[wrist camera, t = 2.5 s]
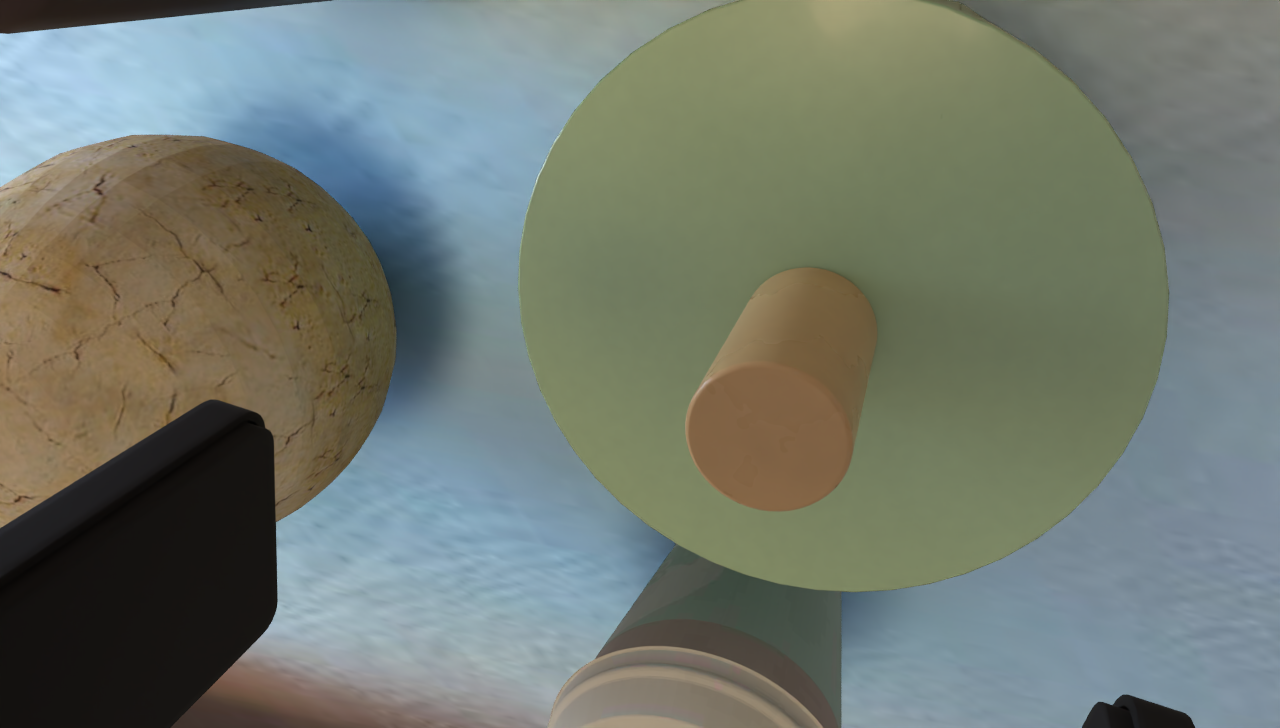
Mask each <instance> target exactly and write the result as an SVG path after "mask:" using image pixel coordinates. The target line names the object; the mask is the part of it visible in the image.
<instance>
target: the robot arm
mask: <svg viewBox="0 0 1280 728" xmlns="http://www.w3.org/2000/svg"><path fill="white" fill-rule="evenodd" d="M276 608H277V556H276V511H275V465H274V439H273V435H272V433H271V431H270V430H268V429H266V428H265V423H264V420H263V418H262V416H261V415H260V414H258V413H256V412H254V411H251V410H248V409H245V408H242V407H238V406H235V405H232V404H229V403H226V402H223V401H220V400H212V399H210V400H207V401H205V402H203V403H201V404H199V405H198V406H196V407H194V408H193V409H191V410H190V411H188V412H186V413H185V414H183V415H182V416H180V417H178V418H177V419H175V420H173V421H172V422H170V423H169V424H167V425H165V426H164V427H162V428H161V429H159V430H157V431H156V432H154V433H153V434H151V435H149V436H148V437H146V438H144V439H143V440H141V441H140V442H138V443H136V444H135V445H133V446H132V447H130V448H128V449H127V450H125V451H124V452H122V453H120V454H119V455H117V456H115V457H114V458H112V459H111V460H109V461H107V462H106V463H104V464H103V465H101V466H99V467H98V468H96V469H95V470H93V471H91V472H90V473H88V474H86V475H85V476H83V477H82V478H80V479H78V480H77V481H75V482H74V483H72V484H70V485H69V486H67V487H66V488H64V489H62V490H61V491H59V492H57V493H56V494H54V495H53V496H51V497H49V498H48V499H46V500H45V501H43V502H41V503H40V504H38V505H37V506H35V507H33V508H32V509H30V510H28V511H27V512H25V513H24V514H22V515H20V516H19V517H17V518H16V519H14V520H12V521H11V522H9V523H8V524H6V525H4V526H3V527H1V528H0V728H170V727H171V726H172V725H173V724H174V723H175V722H176V721H177V720H178V719H179V718H180V717H181V716H182V715H183V714H184V713H185V712H186V711H187V710H188V709H189V708H190V707H191V706H192V705H193V704H194V703H195V702H196V701H197V700H198V699H199V698H200V697H201V696H202V695H203V694H204V693H205V692H206V691H207V690H208V689H209V688H210V687H211V686H212V685H213V684H214V683H215V682H216V681H217V680H218V679H219V678H220V677H221V676H222V675H223V674H224V673H225V672H226V671H227V670H228V669H229V668H230V667H231V666H232V665H233V664H234V663H235V662H236V661H237V660H238V659H239V658H240V657H241V656H242V655H243V654H244V653H245V652H246V651H247V650H248V649H249V648H250V647H251V645H252V644H253V643H254V642H255V641H256V640H257V639H258V638H259V637H260V636H261V635H262V634H263V633H264V632H265V631H266V630H267V628H268V627H269V625H270V623H271V622H272V620H273V617H274V615H275V612H276ZM1082 728H1195V726H1194V724H1193V722H1192V720H1191V718H1190V717H1189V716H1188V715H1187V714H1185V713H1183V712H1180V711H1177V710H1173V709H1170V708H1167V707H1164V706H1161V705H1158V704H1155V703H1152V702H1149V701H1146V700H1143V699H1140V698H1136V697H1133V696H1130V695H1122V696H1120V697H1119V698H1118V699H1117V700H1116V701H1115V703H1114V704H1113V705H1110V704H1107V703H1104V702H1098V703H1097V704H1095V705H1094V707H1093V708H1092V710H1091V711H1090V713H1089V715H1088V717H1087V719H1086V721H1085V723H1084V724H1083V726H1082Z"/></svg>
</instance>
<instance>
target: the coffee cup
mask: <svg viewBox="0 0 1280 728" xmlns="http://www.w3.org/2000/svg"><path fill="white" fill-rule="evenodd" d="M547 728H841V591H825V590H813V589H807V588H801V587H795V586H789V585H782V584H778V583H774V582H770V581H767V580H763V579H759V578H756V577H752V576H748V575H745V574H742V573H739V572H737V571H734V570H732V569H729V568H726V567H724V566H721V565H719V564H716V563H713V562H711V561H709V560H707V559H705V558H703V557H701V556H699V555H697V554H695V553H693V552H691V551H689V550H687V549H685V548H683V547H681V546H679V545H678V544H676V545H675V546H674V548H673V549H672V550H671V552H670V553H669V555H668V556H667V558H666V559H665V560H664V562H663V563H662V565H661V566H660V567H659V569H658V570H657V572H656V573H655V575H654V576H653V577H652V579H651V580H650V582H649V583H648V584H647V586H646V587H645V589H644V590H643V592H642V593H641V594H640V596H639V597H638V599H637V600H636V601H635V603H634V604H633V606H632V607H631V609H630V610H629V611H628V613H627V614H626V616H625V617H624V618H623V620H622V621H621V623H620V624H619V625H618V627H617V628H616V630H615V631H614V633H613V634H612V635H611V637H610V638H609V640H608V641H607V642H606V644H605V645H604V647H603V648H602V650H601V651H600V652H599V654H598V655H597V657H596V658H595V660H593V661H591V662H589V663H588V664H586V665H585V666H583V667H582V668H580V669H579V670H578V671H577V672H576V673H574V674H573V675H572V676H571V677H570V678H569V679H568V681H567V682H566V683H565V684H564V686H563V687H562V689H561V690H560V692H559V694H558V696H557V698H556V700H555V702H554V705H553V708H552V712H551V717H550V721H549V723H548V727H547Z"/></svg>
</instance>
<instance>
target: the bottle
mask: <svg viewBox="0 0 1280 728" xmlns="http://www.w3.org/2000/svg"><path fill="white" fill-rule="evenodd" d="M321 1H331V0H0V33H5V34H10V33H20V32H29V31H39V30H49V29H59V28H68V27H78V26H88V25H97V24H107V23H117V22H127V21H136V20H146V19H156V18H165V17H175V16H185V15H195V14H204V13H214V12H224V11H234V10H243V9H253V8H263V7H272V6H282V5H292V4H302V3H311V2H321Z"/></svg>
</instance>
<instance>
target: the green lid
mask: <svg viewBox="0 0 1280 728" xmlns="http://www.w3.org/2000/svg"><path fill="white" fill-rule="evenodd" d="M518 292H519V303H520V314H521V324H522V328H523V333H524V338H525V342H526V347H527V351H528V356H529V359H530V362H531V365H532V368H533V371H534V374H535V377H536V379H537V382H538V385H539V388H540V391H541V393H542V395H543V397H544V399H545V401H546V403H547V405H548V407H549V409H550V411H551V413H552V415H553V417H554V420H555V422H556V423H557V425H558V426H559V428H560V430H561V431H562V433H563V434H564V436H565V437H566V439H567V441H568V442H569V444H570V445H571V447H572V448H573V450H574V451H575V453H576V454H577V455H578V456H579V458H580V459H581V460H582V461H583V463H584V464H585V465H586V466H587V468H588V469H589V470H590V471H591V473H592V474H593V475H594V476H595V478H596V479H597V480H598V481H599V482H600V483H601V484H602V485H603V486H604V487H605V488H606V489H607V490H608V491H609V492H610V493H611V494H612V495H613V496H614V497H615V498H616V499H617V500H618V501H619V502H620V503H621V504H622V505H624V506H625V507H626V508H627V509H629V510H630V511H631V512H632V513H634V514H635V515H636V516H637V517H639V518H640V519H641V520H642V521H643V522H645V523H646V524H647V525H648V526H650V527H651V528H653V529H655V530H656V531H658V532H659V533H661V534H662V535H664V536H665V537H667V538H668V539H670V540H672V541H673V542H675V543H676V544H678V545H679V546H681V547H683V548H685V549H687V550H689V551H691V552H693V553H695V554H697V555H699V556H701V557H703V558H705V559H707V560H709V561H711V562H713V563H716V564H719V565H721V566H724V567H726V568H729V569H732V570H734V571H737V572H739V573H742V574H745V575H748V576H752V577H756V578H759V579H763V580H767V581H770V582H774V583H778V584H782V585H789V586H795V587H801V588H807V589H813V590H825V591H843V592H865V591H884V590H895V589H901V588H907V587H914V586H920V585H926V584H931V583H934V582H938V581H941V580H945V579H948V578H952V577H955V576H959V575H963V574H966V573H969V572H971V571H973V570H976V569H978V568H981V567H983V566H985V565H988V564H990V563H993V562H995V561H997V560H1000V559H1002V558H1004V557H1006V556H1008V555H1009V554H1011V553H1013V552H1015V551H1016V550H1018V549H1020V548H1022V547H1023V546H1025V545H1027V544H1029V543H1030V542H1032V541H1034V540H1036V539H1037V538H1039V537H1040V536H1041V535H1043V534H1044V533H1045V532H1047V531H1048V530H1049V529H1051V528H1052V527H1053V526H1055V525H1056V524H1057V523H1059V522H1060V521H1061V520H1063V519H1064V518H1065V517H1067V516H1068V515H1069V514H1070V513H1071V512H1072V511H1073V510H1074V509H1075V508H1076V507H1077V506H1078V505H1079V504H1080V503H1081V502H1082V501H1083V500H1084V499H1085V498H1086V497H1087V496H1088V495H1089V494H1090V493H1091V492H1092V491H1093V490H1095V489H1096V488H1097V486H1098V485H1099V484H1100V483H1101V481H1102V480H1103V479H1104V477H1105V476H1106V475H1107V474H1108V472H1109V471H1110V470H1111V468H1112V467H1113V466H1114V464H1115V463H1116V462H1117V461H1118V459H1119V458H1120V457H1121V455H1122V454H1123V452H1124V451H1125V449H1126V447H1127V445H1128V443H1129V442H1130V440H1131V438H1132V436H1133V434H1134V433H1135V431H1136V429H1137V427H1138V426H1139V424H1140V422H1141V420H1142V418H1143V416H1144V414H1145V411H1146V408H1147V406H1148V403H1149V400H1150V398H1151V395H1152V392H1153V390H1154V387H1155V385H1156V382H1157V379H1158V375H1159V371H1160V366H1161V361H1162V357H1163V352H1164V347H1165V342H1166V338H1167V324H1168V305H1169V286H1168V276H1167V267H1166V257H1165V248H1164V244H1163V240H1162V237H1161V233H1160V229H1159V225H1158V222H1157V218H1156V214H1155V211H1154V207H1153V203H1152V201H1151V199H1150V196H1149V194H1148V192H1147V190H1146V188H1145V185H1144V183H1143V181H1142V179H1141V176H1140V174H1139V172H1138V170H1137V167H1136V165H1135V163H1134V161H1133V159H1132V157H1131V156H1130V154H1129V153H1128V151H1127V150H1126V148H1125V147H1124V145H1123V144H1122V142H1121V140H1120V139H1119V137H1118V136H1117V134H1116V133H1115V131H1114V130H1113V128H1112V127H1111V125H1110V124H1109V122H1108V120H1107V119H1106V118H1105V116H1104V115H1103V114H1102V113H1101V112H1100V111H1099V110H1098V109H1097V107H1096V106H1095V105H1094V104H1093V103H1092V102H1091V101H1090V100H1089V98H1088V97H1087V96H1086V95H1085V94H1084V93H1083V92H1082V91H1081V90H1080V88H1079V87H1078V86H1077V85H1076V84H1075V83H1074V82H1073V81H1072V80H1071V79H1070V78H1069V77H1068V76H1066V75H1065V74H1064V73H1063V72H1062V71H1060V70H1059V69H1058V68H1057V67H1056V66H1054V65H1053V64H1052V63H1051V62H1050V61H1048V60H1047V59H1046V58H1045V57H1044V56H1042V55H1041V54H1040V53H1039V52H1038V51H1036V50H1035V49H1034V48H1032V47H1030V46H1029V45H1027V44H1025V43H1024V42H1022V41H1020V40H1019V39H1017V38H1016V37H1014V36H1012V35H1011V34H1009V33H1007V32H1006V31H1004V30H1002V29H1001V28H999V27H997V26H996V25H994V24H992V23H990V22H988V21H985V20H983V19H981V18H978V17H976V16H974V15H971V14H969V13H966V12H964V11H962V10H959V9H957V8H955V7H952V6H950V5H948V4H944V3H940V2H936V1H933V0H738V1H735V2H732V3H729V4H725V5H722V6H719V7H716V8H712V9H709V10H707V11H705V12H703V13H701V14H699V15H697V16H694V17H692V18H690V19H688V20H686V21H684V22H682V23H680V24H677V25H675V26H673V27H671V28H669V29H667V30H666V31H664V32H663V33H661V34H660V35H658V36H657V37H655V38H654V39H652V40H651V41H649V42H648V43H646V44H644V45H643V46H641V47H640V48H638V49H637V50H635V51H634V52H632V53H631V54H630V55H629V56H628V57H627V58H625V59H624V60H623V61H622V62H621V63H620V64H619V65H617V66H616V67H615V68H614V69H613V70H612V71H611V72H609V73H608V74H607V75H606V76H605V77H604V78H603V79H601V80H600V82H599V83H598V84H597V85H596V86H595V87H594V89H593V90H592V91H591V92H590V93H589V94H588V95H587V97H586V98H585V99H584V100H583V101H582V102H581V104H580V105H579V106H578V107H577V108H576V109H575V110H574V112H573V114H572V115H571V117H570V118H569V120H568V121H567V123H566V124H565V126H564V127H563V129H562V130H561V132H560V134H559V135H558V137H557V138H556V140H555V141H554V143H553V145H552V147H551V149H550V151H549V153H548V155H547V157H546V160H545V162H544V164H543V166H542V168H541V170H540V172H539V175H538V177H537V179H536V182H535V186H534V189H533V192H532V195H531V198H530V202H529V205H528V208H527V211H526V215H525V221H524V226H523V232H522V238H521V244H520V250H519V275H518Z"/></svg>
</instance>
